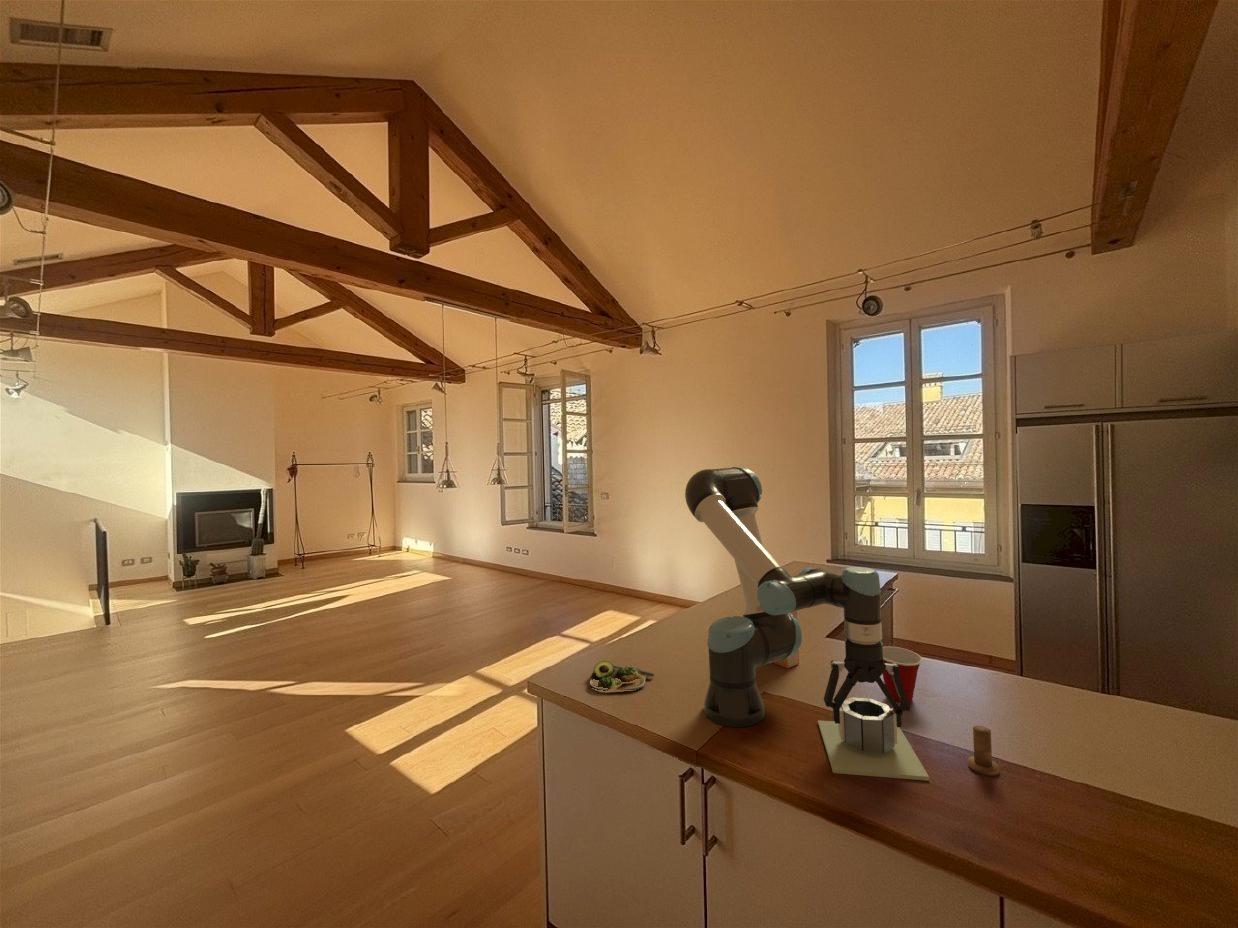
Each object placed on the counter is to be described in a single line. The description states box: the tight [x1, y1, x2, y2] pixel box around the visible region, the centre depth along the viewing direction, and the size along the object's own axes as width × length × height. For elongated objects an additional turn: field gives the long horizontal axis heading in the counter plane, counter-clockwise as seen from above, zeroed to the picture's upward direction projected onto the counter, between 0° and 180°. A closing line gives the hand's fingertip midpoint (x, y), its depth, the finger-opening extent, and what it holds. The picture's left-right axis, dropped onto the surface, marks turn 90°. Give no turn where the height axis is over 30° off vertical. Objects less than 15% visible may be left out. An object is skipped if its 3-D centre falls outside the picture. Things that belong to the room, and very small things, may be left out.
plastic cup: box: [882, 646, 924, 704], centre depth 137 cm, size 11×11×12 cm
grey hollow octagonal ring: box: [841, 697, 895, 753], centre depth 115 cm, size 10×10×7 cm
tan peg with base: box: [967, 725, 1000, 777], centre depth 107 cm, size 5×5×8 cm
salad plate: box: [588, 660, 655, 691], centre depth 157 cm, size 19×18×5 cm
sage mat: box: [817, 720, 930, 782], centre depth 115 cm, size 18×20×1 cm
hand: (867, 738), depth 115 cm, fingers closed on grey hollow octagonal ring, 10 cm apart
